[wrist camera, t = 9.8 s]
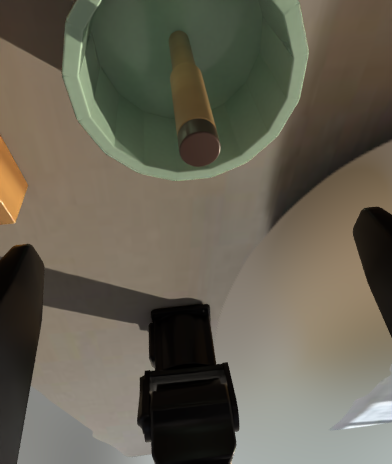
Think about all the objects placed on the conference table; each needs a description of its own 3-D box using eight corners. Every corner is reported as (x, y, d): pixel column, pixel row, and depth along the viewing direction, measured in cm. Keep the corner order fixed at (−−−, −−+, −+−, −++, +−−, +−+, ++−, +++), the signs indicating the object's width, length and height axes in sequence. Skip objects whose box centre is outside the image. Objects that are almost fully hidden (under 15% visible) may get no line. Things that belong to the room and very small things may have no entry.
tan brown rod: (191, 25, 16) (221, 129, 10) (192, 54, 17) (220, 165, 11) (164, 27, 16) (177, 134, 10) (166, 56, 17) (180, 169, 11)
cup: (284, -100, 13) (336, -81, 10) (260, 113, 20) (285, 170, 17) (50, -83, 13) (15, -58, 9) (107, 128, 20) (100, 189, 16)
